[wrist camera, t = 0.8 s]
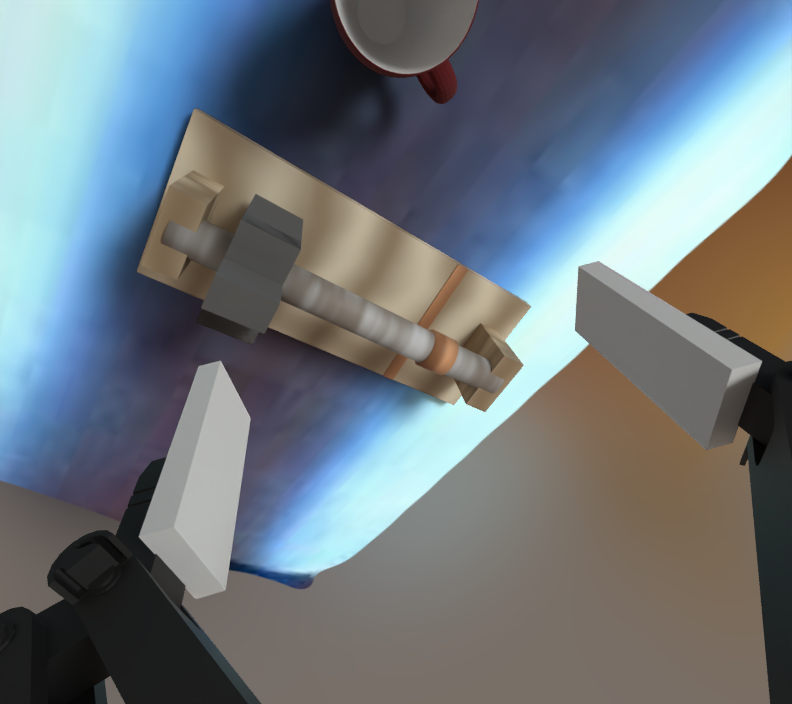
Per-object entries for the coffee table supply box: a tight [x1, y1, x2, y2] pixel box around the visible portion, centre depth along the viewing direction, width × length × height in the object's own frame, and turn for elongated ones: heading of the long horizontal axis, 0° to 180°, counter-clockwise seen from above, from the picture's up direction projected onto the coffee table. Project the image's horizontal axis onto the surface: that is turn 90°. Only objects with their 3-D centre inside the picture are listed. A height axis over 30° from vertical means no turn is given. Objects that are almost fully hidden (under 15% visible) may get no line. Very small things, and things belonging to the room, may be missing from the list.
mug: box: [330, 0, 479, 104], centre depth 27 cm, size 11×8×10 cm
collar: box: [196, 194, 303, 345], centre depth 31 cm, size 4×8×11 cm, turn 149°
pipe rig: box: [137, 108, 531, 412], centre depth 38 cm, size 34×14×8 cm, turn 58°
